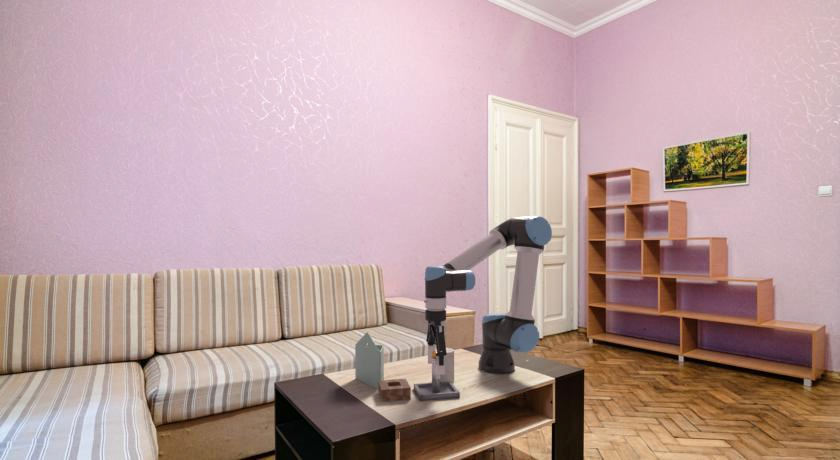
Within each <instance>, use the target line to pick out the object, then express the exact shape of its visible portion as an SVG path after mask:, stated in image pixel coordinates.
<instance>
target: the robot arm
mask: <svg viewBox="0 0 840 460" xmlns="http://www.w3.org/2000/svg"><path fill="white" fill-rule="evenodd" d="M552 235H553V229H552V226H551V224H550V222H549V221H548V220H547V218H544V217H543V216H540V215H539V216H538V215H530V216H514V217H510V218H509V219H507V220H505V221H502V223H500V224H498V225H497V226H496V227H494V228H493V229H491V230H490V231H489V233H488V235H486V236H485V237H483V238H482V239H481V240H479V241H478V242H476V243H474V244H473V245H472V246H470V247H469V248H467V249H466V250H464V251H463V252H460V254H458V255H457V256H455V257H454V258H452V259H450V261H448V262H446V263H444V264H443V265H429V266H427V267H426V268H425V270H424V271H425V273H424V289H425V290H424V291H425V292H424V295H425V297H424V298H425V299H424V300H423V303H424V305H425V306H424V307H425V308H426V309H425V312H424V314H425V315H424V316H425V317H424V318H425V321H427V330H426V344H427V364H428V365H429V364H431V365H432V352H433V351H435V348H436V349H437V354H436V355H435V356H437V375H444V374H445V355H447V353H446V348H447V347H446V346H447V345H446V337H445V326H444V325H442V322H445V321H446V320H447V310H446V308H447V292H448V293H450V292H466V291H471V290H473V289H474V287H475V286H476V276H475V273H474V272H473V271H472V269H473V268H474V267H476V266H477V265H479V264H480V263H482V262H484V261H485V260H486V259H488V258H489V257H490V256H492V255H493V254H495V253H496V252H498V251H499V250H504V249H506V248H507V247H511V246H514V249H515V250H516V253H517V254H516V261H515V268H514V276H513V277H514V278H513V285H512V292H511V297H510V298H511V299H510V307H509V311H508V312H506V313H505V312H503V313H501V312H500V313H499V312H498V313H487V314H484V315H483V316H482V320H481V326H482V327H481V328H482V329H481V331H482V337H481V338H482V349H481V352H480V353H481V354H480V356H479V360H478V369H479V370H480V371H482V372H485V373H490V374H509V373H513V372H514V371H515V368H516V365H515V361H514V358H513V354H512V352H511V350H512V351H513V352H516V353H522V354H528V353H530V352H532V351H533V350H534V349H535V348H536V347H537V345H538V343H539V340H540V332H539V331H540V330H539V329H538V327H537V326H536V325H535V322H536V318H535V317H534V316H533V314H532V313H533V307H534V299H535V298H534V297H535V290H536V281H537V275H538V269H539V268H538V266H539V261H540V260H539V259H540V258H539V257H540V255H541V254H542V253H543V252H544V249H545V246H546V245H548V244H549V242H550V241H551V240H552ZM441 351H442V352H441Z"/></svg>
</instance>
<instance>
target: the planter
mask: <svg viewBox="0 0 840 460" xmlns="http://www.w3.org/2000/svg"><path fill="white" fill-rule="evenodd" d="M354 347H355V350H354V352H355V354H354V355H355V357H354V359H355V360H354V361H355V364H354V365H355V366H354V367H355V371H354V372H355V375H354V377H355V380H356V379H357V380H356V381H359V382H362V383H363V384H366V385H367V386H370V387H372V388H375V389H377V390H379V389H378V381H379V380H385V375H384V373H385V372H384V371H385V363H384V362H385V361H384V360H385V359H384V358H385V357H384V356H385V355H384V354H385V353H384V348H385V347H384V345H383V344H378V345H377V344H376V343H375V342H374V340H373V338H372V337H371V336H370V333H369V332H368V331H367V332H365V333H364V334H363V336H362V337H361V338H360V339H358V341H357V342H356V343H355V346H354Z"/></svg>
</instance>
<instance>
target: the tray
mask: <svg viewBox="0 0 840 460" xmlns="http://www.w3.org/2000/svg"><path fill="white" fill-rule="evenodd" d="M413 390H414V391H415V394H416V396H417V397H418V399H419V401H420V402H421V401H423V402H424V401H434V400H435V401H436V400H445V399H446V400H449V399H459V398H460V397H461V392H460V391H459V390H458V388H457V387H456V386H455V385H454V383H451V381H447V382H440V392H439V393H433V392H432V382H424V383H423V382H422V383H413Z"/></svg>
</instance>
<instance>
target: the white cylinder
mask: <svg viewBox="0 0 840 460" xmlns="http://www.w3.org/2000/svg"><path fill="white" fill-rule="evenodd" d="M435 351H437V349H436V347H435ZM441 352H442V351H441ZM446 353H447V355H445V374H444V375H440V382H447V381H451V383H452V384H454V383H455V349H453V348H451V347H446Z"/></svg>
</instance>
